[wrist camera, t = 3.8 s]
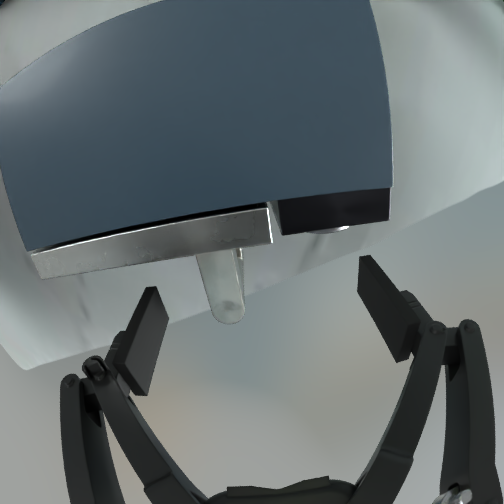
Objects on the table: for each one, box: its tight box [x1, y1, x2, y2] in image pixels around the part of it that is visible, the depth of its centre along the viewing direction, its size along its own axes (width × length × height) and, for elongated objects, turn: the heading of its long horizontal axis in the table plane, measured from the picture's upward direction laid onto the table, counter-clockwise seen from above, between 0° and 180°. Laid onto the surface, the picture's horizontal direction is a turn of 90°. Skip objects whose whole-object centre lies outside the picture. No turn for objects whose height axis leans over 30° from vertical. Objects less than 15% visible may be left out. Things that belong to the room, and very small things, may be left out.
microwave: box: [0, 0, 393, 251], centre depth 15 cm, size 11×18×14 cm, turn 98°
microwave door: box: [31, 202, 273, 324], centre depth 19 cm, size 8×13×14 cm, turn 99°
